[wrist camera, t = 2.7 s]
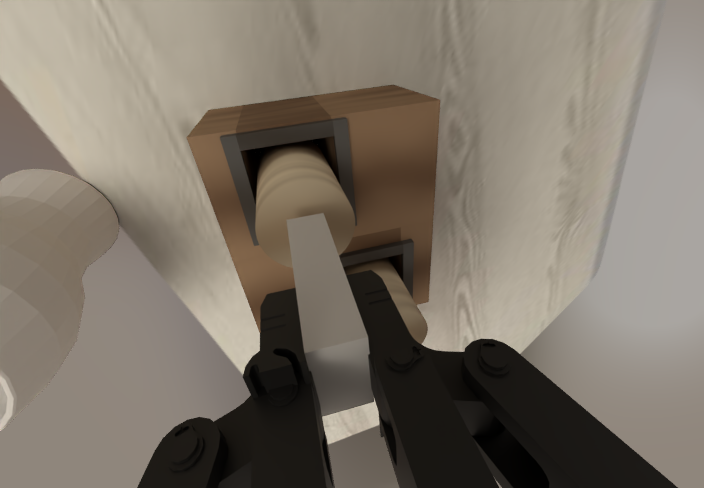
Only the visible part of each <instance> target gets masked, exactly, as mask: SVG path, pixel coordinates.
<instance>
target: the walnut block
mask: <svg viewBox="0 0 704 488" xmlns="http://www.w3.org/2000/svg"><path fill="white" fill-rule="evenodd" d="M439 112H440V100H439V99H436V98H432V97H429V96H426V95H423V94H420V93H417V92H414V91H411V90H408V89H405V88H402V87H398V86H395V85H388V86H381V87H373V88H366V89H359V90H352V91H344V92H337V93H330V94H322V95H315V96H308V97H301V98H293V99H286V100H279V101H271V102H264V103H257V104H250V105H242V106H235V107H228V108H220V109H213V110H208V111H207V113H206V114H205V115H204V116H203V118H202V119H201V120H200V121H199V123H198V124H197V125H196V126H195V128H194V129H193V130H192V131H191V133H190V134H189V135H188V136H187V140H188V142H189V145H190V148H191V150H192V153H193V156H194V158H195V161H196V164H197V166H198V169H199V172H200V174H201V177H202V180H203V182H204V185H205V188H206V190H207V193H208V196H209V198H210V201H211V204H212V206H213V209H214V212H215V214H216V217H217V220H218V222H219V225H220V228H221V230H222V233H223V236H224V239H225V241H226V244H227V247H228V249H229V252H230V255H231V257H232V260H233V263H234V265H235V268H236V271H237V273H238V276H239V279H240V281H241V284H242V287H243V289H244V292H245V295H246V297H247V300H248V303H249V305H250V308H251V311H252V313H253V316H254V319H255V321H256V324H257V327H258V329H259V332H260V333H261V331H260V322H261V320H260V306H261V304H262V302H263V301H264V299H265V297H266V295H267V294H269V293H274V292H278V291H283V290H287V289H292V288H296V287H295V280H294V273H293V268H291V267H287V266H284V265H281V264H279V263H277V262H276V261H274V260H273V259H271V258H270V257H269V256H268V255H267V254H266V253H265V252H264V251H263V250H262V248H261V246H260V245H259V242H258V240H257V236H256V230H255V222H256V196H257V171H258V160H257V156H256V152H255V148H262V147H268V146H275V145H281V144H287V143H294V142H300V141H306V140H313V139H318V140H319V147H320V150H321V151H322V153H323V155H324V157H325V158H326V160H327V162H328V164H329V166H330V168H331V169H332V171H333V173H334V175H335V177H336V179H337V181H338V182H339V184H340V186H341V188H342V190H343V192H344V193H345V195H346V197H347V199H348V201H349V203H350V205H351V207H352V209H353V212H354V216H355V230H354V234H353V237H352V239H351V241H350V243H349V245H348V246H347V248H346V249H345V250H344V251H343V252H342V253H341V254H340V255H339V258H340V260H341V263H342V266H343V267H345V266H349V265H354V264H358V263H363V262H367V261H372V260H377V259H381V258H386V257H388V258H389V259H390V261H391V263H392V265H393V266H394V268H395V270H396V271H397V273H398V275H399V276H400V278H401V280H402V282H403V283H404V285H405V287H406V288H407V290H408V292H409V294H410V295H411V297H412V299H413V300H414V302H415V304H416V305H417V304H422V303H426V302H428V300H429V283H430V266H431V249H432V232H433V215H434V197H435V180H436V163H437V146H438V129H439Z"/></svg>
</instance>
